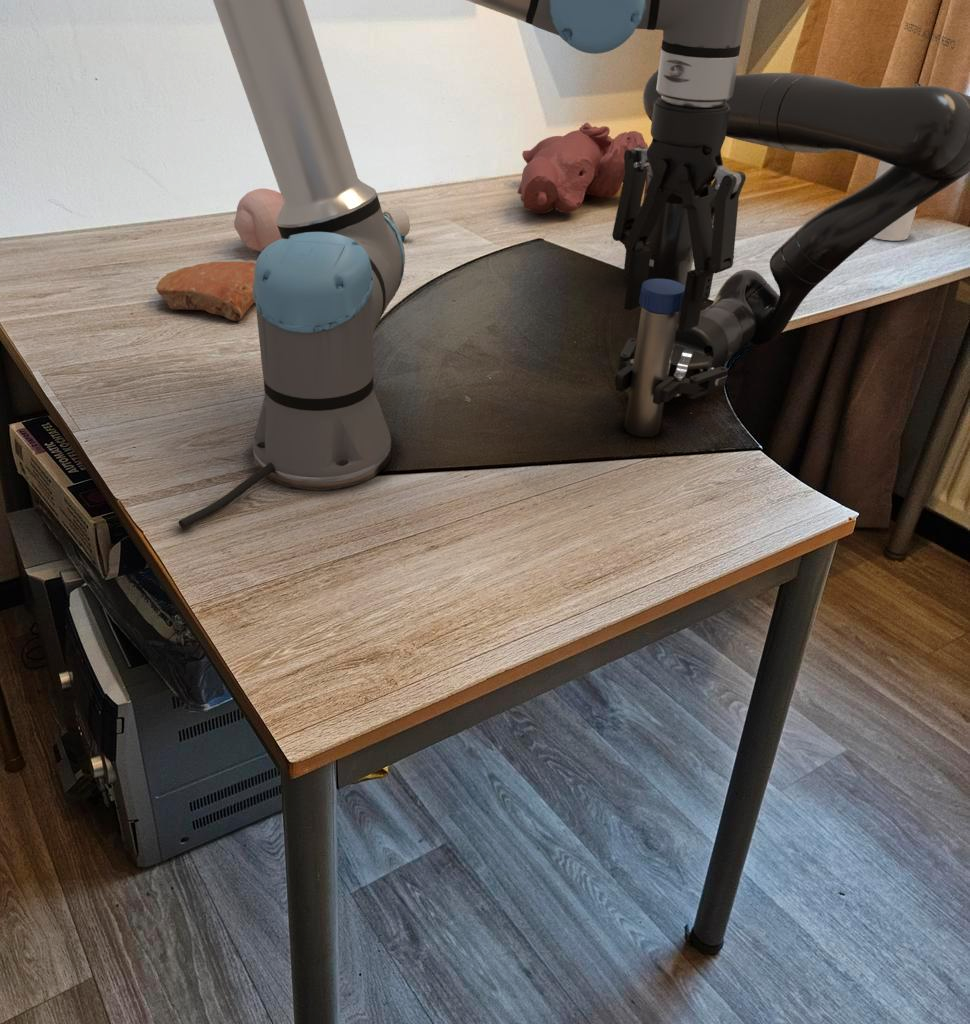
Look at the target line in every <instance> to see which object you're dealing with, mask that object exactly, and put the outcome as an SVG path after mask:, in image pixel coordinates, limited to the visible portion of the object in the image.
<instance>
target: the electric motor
mask: <svg viewBox="0 0 970 1024" xmlns="http://www.w3.org/2000/svg"><path fill="white" fill-rule="evenodd" d="M383 215H384V216H387V217H388V218H389V219H390V220H391V222H392V223H393V224H394V225H395V227H396V228H397V230H398V232H399V234H400V236H401V239H402V241H404V240H405V238H406V236H407V235H409V233H410V229H411V222H410V218H409V216H408V213H407V212H406V210H404V209H403V208H397V209H392V210H387V211H384V212H383Z"/></svg>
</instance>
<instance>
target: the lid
mask: <svg viewBox="0 0 970 1024" xmlns="http://www.w3.org/2000/svg"><path fill="white" fill-rule="evenodd" d="M684 291H685V286H684V285H682V284H681V283H679V282H676V281H673V280H668V279H650V280H646V281H644V282H643V283H642V288H641V291H640V298H639V304H640V307H641V308H644V309H646V310H648V311H651V312H656V313H664V314H669V313H676V312H679V313H680V312H681V309H682V303H683V297H684Z"/></svg>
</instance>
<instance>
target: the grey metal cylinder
mask: <svg viewBox="0 0 970 1024" xmlns="http://www.w3.org/2000/svg"><path fill="white" fill-rule="evenodd" d="M679 315H680V311H679V312H676V313H669V314H664V313H656V312H651V311H648V310H646V309H644V308H642V307H641V308H640V315H639V323H638V324H639V325H638V330H637V337H636V339H637V343H636V350H635V357H634V364H633V371H632V378H631V385H630V387H629V392H628V400H627V407H626V414H625V420H624V429H625V431H626V432H627V433H628V434H630V435H632V436H634V437H638V438H639V437H640V438H652V437H655V436H657V435H658V434H659V433H660V429H661V424H662V416H663V410H664V405H665V402H662V403H661V404H660V405H658V404H655V403H653V397H654V390H655V388H656V386H657V385H658V384H660V383H661V382H663V381H664V380H665V379H667V378H668V376H669V370H670V364H671V358H672V352H673V346H674V340H675V334H676V328H677V325H678V323H679V321H678V320H679V317H680V316H679Z"/></svg>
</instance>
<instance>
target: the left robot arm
mask: <svg viewBox="0 0 970 1024" xmlns="http://www.w3.org/2000/svg"><path fill="white" fill-rule="evenodd" d="M466 1H468V2H471V3H473V4H475V5H478V6H481V7H484V8H486V9H488V10H492V11H493V12H497V13H500V14H502V15H506V16H508V17H511V18H513V19H516V20H519V21H521V22H524V23H526V24H529V25H532V26H533V27H535V28H538V29H541V30H543V31H545V32H548V33H550V34H553V35H555V36H556V35H557V36H559V37H560V38H561V39H562V40H563V42H565V43H567V44H568V46H570V47H572V48H573V49H575V50H577V51H579V52H582V53H586V54H589V55H590V54H592V55H597V54H604V53H608V52H611V51H613V50H615V49H617V48H619V47H620V46H622V45H623V44H625V43H626V42H627V41H628V40H629V39H630V38H631V36H633V34H634V33H635V31H636V30H648V31H656V30H657V31H662V41H661V46H660V47H661V49H660V55H659V56H660V57H659V64H658V69H659V72H658V80H657V87H656V90H657V92H658V93H659V94H660V95H662V97H659V98H657V100H656V101H655V102H654V108H653V116H652V121H651V125H650V135H651V137H652V141H651V142H650V144H649V146H648V149H646V148H645V147H638V148H634V149H630V150H626V151H625V153H624V162H625V176H624V181H623V182H622V184H621V191H620V196H619V201H618V205H617V210H616V216H615V220H614V224H613V229H612V235H611V236H612V239H613V240H614V241H615V242H620V243H621V244H622V245H623V246H624V249H625V255H624V256H625V257H624V266H623V277H624V278H626V279H627V283H626V289H625V290H626V291H625V292H626V293H625V298H624V305H623V309H624V310H626V311H629V312H630V311H632V310H634V309H637V308H639V307H641V306H640V304H639V298H640V291H641V288H642V283H643V282H644V281H646V280H647V277H648V270H649V263H650V256H651V250H650V249H647V248H645V249H643V246H646V245H648V244H649V242H648V241H647V240H648V238H649V236H650V234H651V232H652V230H653V228H654V226H655V224H656V222H657V220H658V217H659V215H660V213H661V211H662V209H663V207H664V205H665V203H666V201H667V199H668V197H669V196H670V195H671V194H672V193H674V194H675V195H677V196H679V197H681V198H682V200H683V206H684V208H685V209H686V210H687V215H688V222H689V230H690V237H691V244H692V252H693V266H694V269H692V270H691V271H689V272H687V278H686V284H685V291H684V297H683V303H682V309H681V311H680V314H679V315H680V316H679V321H678V324H679V328H678V329H679V330H681V331H686V330H688V329H691V328H693V327H695V326H697V325H698V323H699V317H700V311H702V305H703V303H704V302H706V301H708V299H709V298H710V297H711V296H710V295H711V290H712V284H713V278H714V274H718V273H721V272H723V271H726V270H728V269H731V268H732V267H733V266H734V256H735V245H736V232H737V221H738V211H739V200H740V199H739V197H740V195H741V192H742V189H743V187H744V184H745V182H746V179H747V176H746V174H745V172H744V171H737V172H735V171H732V170H731V169H729V168H728V167H725V165H724V163H723V162H724V161H723V158H722V148H723V145H724V143H725V140H726V131H727V125H728V119H729V113H730V107H729V105H728V103H726V102H725V101H726V100H728V99H730V98H731V97H732V96H733V91H734V85H735V79H736V75H737V71H738V66H739V60H740V52H741V46H742V41H743V35H744V29H745V24H746V20H747V12H748V7H749V3H750V0H466ZM212 2H213V6H214V7H215V10H216V14H217V16H218V19H219V22H220V24H221V28H222V30H223V34H224V36H225V39H226V41H227V44H228V47H229V50H230V53H231V56H232V59H233V62H234V63H235V67H236V70H237V73H238V75H239V79H240V82H241V84H242V88H243V90H244V93H245V95H246V98H247V102H248V104H249V107H250V110H251V113H252V115H253V119H254V122H255V124H256V127H257V130H258V133H259V135H260V138H261V141H262V144H263V147H264V150H265V152H266V156H267V158H268V162H269V164H270V166H271V169H272V173H273V175H274V178H275V181H276V184H277V187H278V190H279V193H281V196H282V198H283V205H282V207H281V210H280V212H279V214H278V216H277V218H276V224H277V226H278V229H279V232H280V235H281V238H282V239H279V240H277V241H275V242H273V243H271V244H270V245H269V246H267V247H266V248H265V249H264V250H263V251H262V252H260V254H259V255H258V257H257V259H256V261H255V262H254V263H255V269H254V278H255V279H254V284H253V287H254V291H253V296H254V301H255V302H254V303H255V310H256V311H255V312H256V320H257V330H258V340H259V349H260V359H261V369H262V379H263V388H264V390H263V391H264V396H263V400H262V404H261V408H260V412H259V415H258V419H257V423H256V427H255V430H254V434H253V439H252V441H253V442H252V455H253V460H254V464H255V467H256V468H257V471H256V472H255V473H252V475H250V476H249V477H247V478H246V479H244V480H243V481H242V482H240V483H239V484H238V485H237V486H235V487H234V488H233V489H232V490H230V491H229V492H228V493H226V494H225V495H223V496H222V497H220V498H219V499H217V500H216V501H214V502H212V503H211V504H208V505H207V506H206V507H203V508H202V509H200V510H198V511H196V512H194V513H192V514H189V515H187V516H185V517H183V518H181V519H179V520H178V526H179V527H180V528H181V529H182V530H184V529H186V528H188V527H190V526H192V525H194V524H196V523H198V522H200V521H202V520H204V519H206V518H208V517H210V516H212V515H214V514H215V513H217V512H219V511H221V510H222V509H224V508H225V507H226V506H228V505H230V504H231V503H233V502H234V501H235V500H237V499H238V498H239V497H240V496H241V495H243V494H244V493H245V492H247V491H248V490H249V489H251V488H253V486H255V485H256V484H258V483H259V482H260V481H262V480H263V479H265V478H268V479H269V480H271V481H273V482H275V483H278V484H280V485H283V486H286V487H290V488H295V489H301V490H312V491H314V490H315V491H323V490H327V491H328V490H337V489H342V488H348V487H351V486H355V485H358V484H361V483H363V482H366V481H368V480H370V479H373V478H374V477H375V476H377V475H378V474H380V473H381V472H382V471H383V470H384V469H385V468H386V467H387V466H388V464H389V463H390V461H391V458H392V437H391V432H390V430H389V427H388V424H387V422H386V419H385V417H384V413H383V411H382V408H381V406H380V403H379V400H378V398H377V395H376V393H375V385H374V333H375V329H376V327H377V326H378V324H379V322H380V320H381V318H382V316H383V315H384V313H385V312H386V310H387V308H388V306H389V305H390V303H391V301H392V300H393V299H394V297H395V296H396V294H397V292H398V291H399V288H400V287H401V285H402V281H403V277H404V274H405V273H404V272H405V264H406V252H405V246H404V242H403V240H402V239H401V236H400V234H399V232H398V230H397V228H396V227H395V225H394V224H393V223H392V222H391V220H390V219H389V218H388V217H387V216H384V215H383V213H384V212H383V210H382V207H381V203H380V199H379V196H378V193H377V191H376V189H375V188H374V187H372V186H370V185H368V184H367V183H365V182H363V181H361V179H359V177H358V174H357V171H356V168H355V164H354V160H353V156H352V154H351V151H350V147H349V144H348V141H347V137H346V135H345V131H344V128H343V123H342V121H341V117H340V115H339V112H338V108H337V105H336V101H335V99H334V95H333V92H332V90H331V85H330V82H329V79H328V75H327V72H326V68H325V66H324V63H323V59H322V56H321V53H320V50H319V46H318V43H317V40H316V37H315V32H314V30H313V27H312V24H311V19H310V17H309V14H308V11H307V6H306V4H305V0H212ZM649 165H650V166H651V169H652V171H653V177H652V179H651V181H650V183H649V185H648V188H647V190H646V193H647V195H646V197H645V200H644V202H643V196H644V191H645V184H646V177H647V170H648V167H649ZM715 178H716V180H717V184H716V185H715V189H716V190H718V192H717V195H716V199H715V209H714V214H713V219H712V217H711V209H710V203H711V201H712V194H711V186H712V185H711V186H710V183H713V182H714V180H715ZM697 195H699V196H698V197H697V198H695V196H697ZM640 205H641V208H640ZM639 209H640V210H639ZM647 242H648V243H647Z"/></svg>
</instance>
